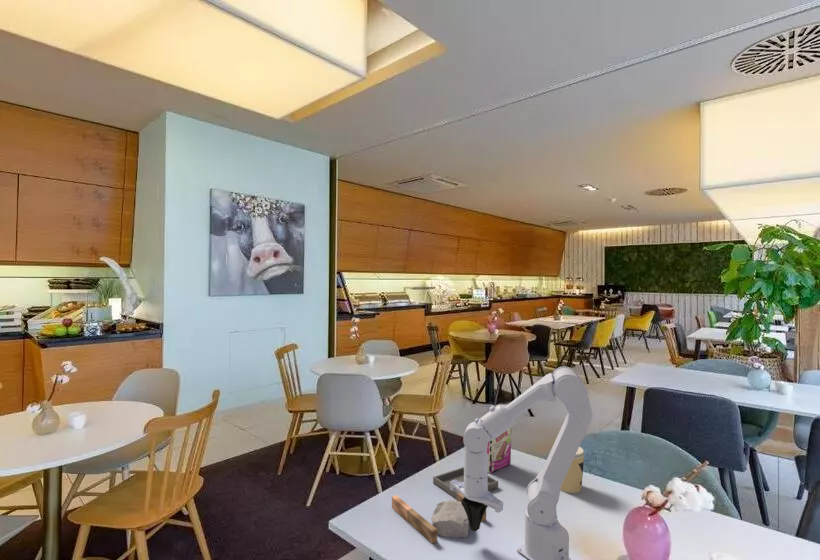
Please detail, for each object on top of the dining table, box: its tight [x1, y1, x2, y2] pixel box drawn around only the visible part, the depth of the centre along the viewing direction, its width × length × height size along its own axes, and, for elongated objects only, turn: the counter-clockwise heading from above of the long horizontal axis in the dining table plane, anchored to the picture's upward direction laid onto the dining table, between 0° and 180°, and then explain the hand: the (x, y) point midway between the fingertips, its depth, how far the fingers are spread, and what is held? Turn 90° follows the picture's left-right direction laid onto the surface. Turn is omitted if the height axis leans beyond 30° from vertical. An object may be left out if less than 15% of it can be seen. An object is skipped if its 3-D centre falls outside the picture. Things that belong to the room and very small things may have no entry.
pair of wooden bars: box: [391, 492, 487, 544], centre depth 113 cm, size 19×18×3 cm
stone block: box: [431, 499, 470, 538], centre depth 109 cm, size 12×5×10 cm
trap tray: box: [432, 466, 499, 500], centre depth 129 cm, size 13×15×2 cm
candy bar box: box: [487, 427, 512, 474], centre depth 142 cm, size 11×5×16 cm, turn 130°
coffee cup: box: [560, 446, 585, 494], centre depth 128 cm, size 9×9×12 cm
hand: (474, 528), depth 101 cm, fingers closed
